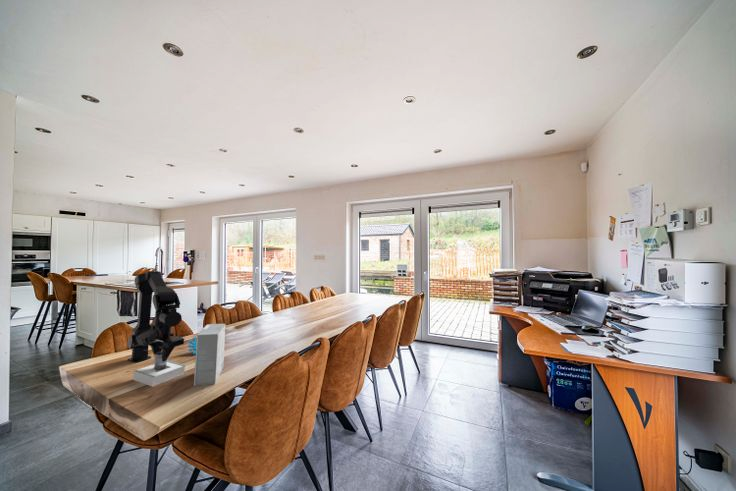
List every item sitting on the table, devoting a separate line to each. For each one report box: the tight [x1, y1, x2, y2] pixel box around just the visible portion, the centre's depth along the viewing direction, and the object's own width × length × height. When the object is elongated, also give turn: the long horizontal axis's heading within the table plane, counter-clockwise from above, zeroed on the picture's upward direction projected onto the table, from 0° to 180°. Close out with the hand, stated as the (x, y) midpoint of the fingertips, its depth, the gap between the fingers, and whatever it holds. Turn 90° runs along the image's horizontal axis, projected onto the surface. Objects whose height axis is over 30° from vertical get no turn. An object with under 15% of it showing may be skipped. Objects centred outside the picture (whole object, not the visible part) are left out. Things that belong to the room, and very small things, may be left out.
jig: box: [132, 359, 186, 387], centre depth 109 cm, size 12×12×4 cm
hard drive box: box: [193, 323, 226, 387], centre depth 111 cm, size 16×8×20 cm, turn 18°
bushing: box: [153, 351, 168, 370], centre depth 109 cm, size 5×5×6 cm
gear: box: [187, 336, 197, 355], centre depth 137 cm, size 11×6×10 cm
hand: (160, 360), depth 109 cm, fingers closed on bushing, 4 cm apart
